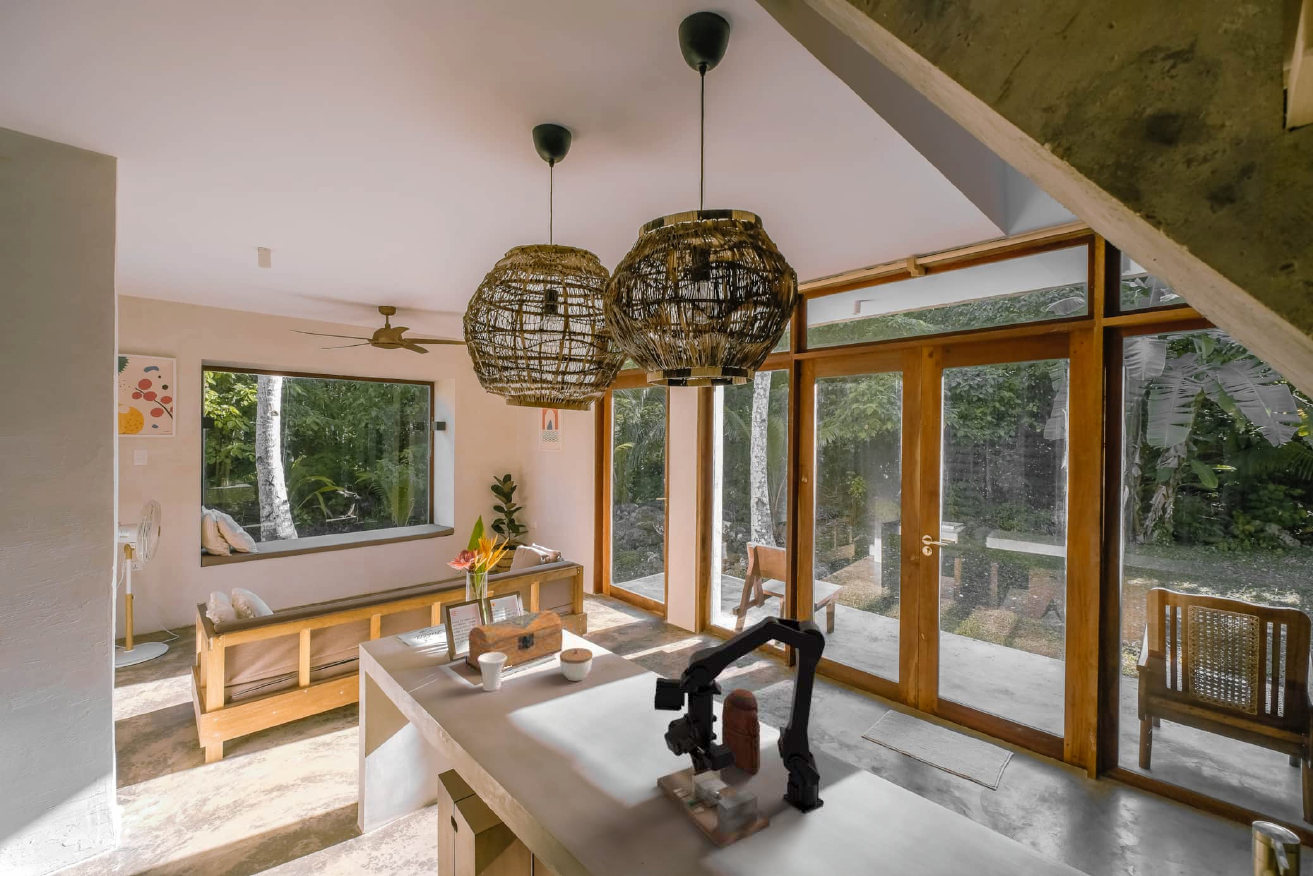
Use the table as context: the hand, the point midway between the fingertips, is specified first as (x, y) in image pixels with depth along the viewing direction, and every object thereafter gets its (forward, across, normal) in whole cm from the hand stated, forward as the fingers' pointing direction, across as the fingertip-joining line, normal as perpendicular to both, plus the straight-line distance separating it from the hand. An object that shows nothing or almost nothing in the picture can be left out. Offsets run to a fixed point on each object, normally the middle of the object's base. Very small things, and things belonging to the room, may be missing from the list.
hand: (700, 779), depth 134 cm
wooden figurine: (+4, -5, +16) cm, 18 cm away
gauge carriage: (+2, +7, -1) cm, 7 cm away
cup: (+4, -78, -26) cm, 83 cm away
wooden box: (+4, -99, -11) cm, 100 cm away
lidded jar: (+4, -72, 0) cm, 73 cm away
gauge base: (+4, +4, 0) cm, 5 cm away
